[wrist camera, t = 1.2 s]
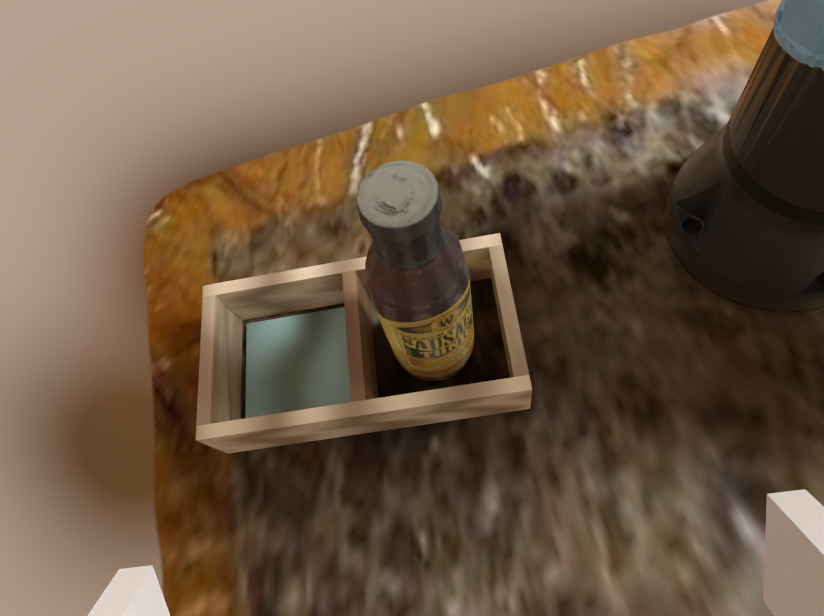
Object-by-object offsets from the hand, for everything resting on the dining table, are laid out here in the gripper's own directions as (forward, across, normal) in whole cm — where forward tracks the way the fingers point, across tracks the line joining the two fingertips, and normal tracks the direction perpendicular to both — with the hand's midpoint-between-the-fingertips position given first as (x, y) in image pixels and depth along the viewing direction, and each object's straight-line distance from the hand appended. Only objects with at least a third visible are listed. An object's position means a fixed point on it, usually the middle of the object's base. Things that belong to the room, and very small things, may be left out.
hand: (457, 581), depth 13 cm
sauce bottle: (+32, -1, -7) cm, 33 cm away
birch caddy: (+32, -6, -7) cm, 34 cm away
